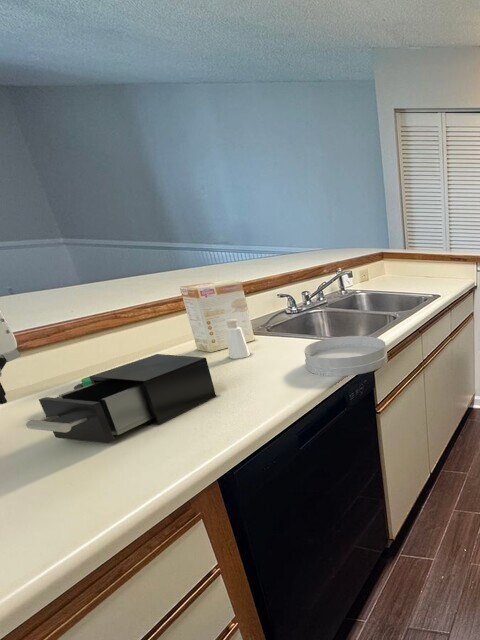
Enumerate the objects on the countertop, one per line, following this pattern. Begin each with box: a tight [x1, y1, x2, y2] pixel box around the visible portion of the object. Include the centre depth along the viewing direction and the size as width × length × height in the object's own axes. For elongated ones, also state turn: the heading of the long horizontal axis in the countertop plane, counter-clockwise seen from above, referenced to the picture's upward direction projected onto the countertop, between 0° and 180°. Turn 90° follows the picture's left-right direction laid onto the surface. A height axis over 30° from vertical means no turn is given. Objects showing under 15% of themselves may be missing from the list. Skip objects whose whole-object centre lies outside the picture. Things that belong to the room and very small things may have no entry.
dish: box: [303, 335, 388, 377], centre depth 121 cm, size 22×22×5 cm
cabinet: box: [88, 353, 217, 426], centre depth 91 cm, size 15×13×10 cm
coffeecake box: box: [179, 279, 256, 353], centre depth 132 cm, size 15×7×20 cm, turn 157°
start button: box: [80, 376, 92, 387], centre depth 94 cm, size 4×4×2 cm
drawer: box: [25, 381, 154, 444], centre depth 80 cm, size 18×11×8 cm, turn 171°
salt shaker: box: [226, 319, 251, 360], centre depth 123 cm, size 5×5×11 cm
